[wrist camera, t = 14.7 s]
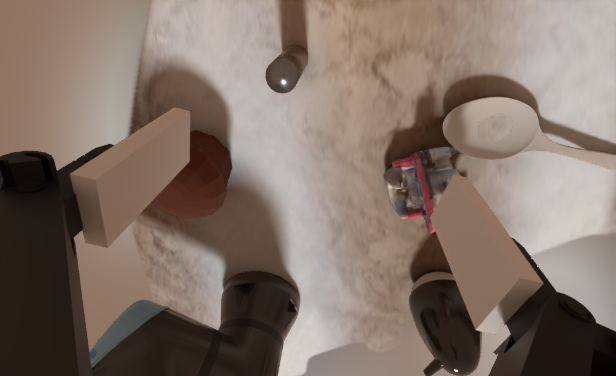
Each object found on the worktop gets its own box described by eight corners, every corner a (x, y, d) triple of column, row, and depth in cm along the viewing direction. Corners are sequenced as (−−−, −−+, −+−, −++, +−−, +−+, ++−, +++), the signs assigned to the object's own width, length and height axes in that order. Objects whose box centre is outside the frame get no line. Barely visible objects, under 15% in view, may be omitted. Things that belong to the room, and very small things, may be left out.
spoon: (425, 139, 40) (429, 149, 38) (455, 79, 36) (463, 86, 33) (664, 200, 43) (681, 212, 40) (720, 151, 38) (743, 162, 36)
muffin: (254, 153, 44) (232, 192, 36) (221, 203, 49) (196, 246, 41) (178, 104, 41) (135, 134, 33) (152, 162, 47) (110, 200, 38)
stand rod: (300, 76, 37) (288, 99, 30) (278, 64, 37) (260, 83, 29) (312, 53, 36) (302, 70, 28) (289, 39, 35) (273, 53, 28)
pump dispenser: (393, 278, 54) (406, 366, 42) (448, 253, 50) (482, 343, 37) (423, 308, 58) (444, 398, 45) (478, 288, 53) (518, 381, 41)
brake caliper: (359, 162, 40) (435, 189, 30) (419, 124, 43) (505, 137, 33) (378, 227, 46) (448, 269, 36) (430, 189, 49) (507, 218, 39)
